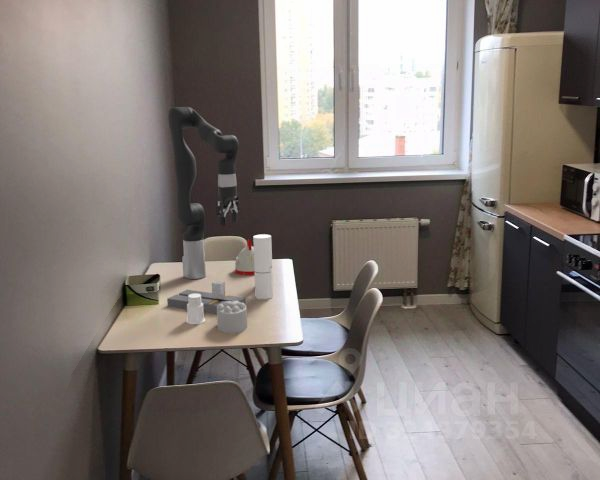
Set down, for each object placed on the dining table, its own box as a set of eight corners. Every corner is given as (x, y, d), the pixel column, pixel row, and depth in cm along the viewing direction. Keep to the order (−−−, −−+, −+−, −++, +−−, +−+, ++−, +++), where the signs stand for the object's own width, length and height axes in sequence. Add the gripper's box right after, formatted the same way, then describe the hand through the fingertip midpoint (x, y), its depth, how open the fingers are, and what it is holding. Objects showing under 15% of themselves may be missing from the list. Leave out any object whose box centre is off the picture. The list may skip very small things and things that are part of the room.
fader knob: (212, 305, 264) (211, 282, 262) (217, 303, 266) (216, 280, 265) (221, 306, 262) (220, 284, 260) (225, 304, 265) (224, 282, 263)
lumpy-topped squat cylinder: (246, 320, 249) (245, 297, 247) (248, 332, 237) (247, 308, 235) (217, 322, 248) (216, 299, 246) (218, 334, 235) (217, 310, 234)
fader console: (167, 305, 268) (167, 297, 267) (187, 296, 279) (187, 288, 278) (227, 315, 255) (227, 306, 255) (246, 305, 267) (245, 296, 266)
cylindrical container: (276, 295, 279) (274, 235, 273) (268, 300, 272) (266, 238, 267) (260, 293, 282) (258, 233, 276) (252, 298, 275) (250, 237, 270)
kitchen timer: (237, 276, 308) (235, 243, 305) (233, 268, 321) (231, 237, 318) (267, 273, 311) (266, 241, 308) (262, 266, 324) (261, 235, 321)
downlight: (183, 319, 252) (182, 293, 249) (202, 316, 254) (201, 290, 252) (189, 326, 245) (187, 300, 242) (208, 323, 247) (207, 297, 245)
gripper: (229, 182, 287) (230, 220, 290) (209, 186, 274) (211, 226, 278) (244, 182, 283) (245, 221, 287) (225, 187, 271) (227, 227, 274)
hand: (229, 223), depth 282 cm, fingers open, 8 cm apart
